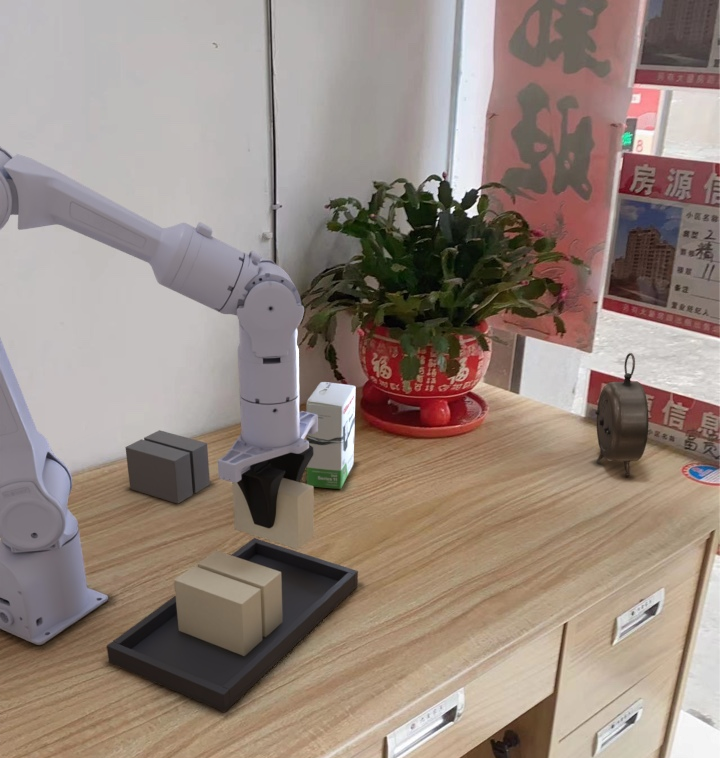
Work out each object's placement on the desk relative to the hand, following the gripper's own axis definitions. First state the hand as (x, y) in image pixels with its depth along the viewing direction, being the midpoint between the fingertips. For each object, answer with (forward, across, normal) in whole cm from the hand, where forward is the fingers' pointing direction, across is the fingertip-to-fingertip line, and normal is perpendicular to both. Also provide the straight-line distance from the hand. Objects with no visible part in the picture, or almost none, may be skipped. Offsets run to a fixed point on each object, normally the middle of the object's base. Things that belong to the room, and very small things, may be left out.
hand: (273, 517), depth 91 cm
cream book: (+2, 0, 0) cm, 2 cm away
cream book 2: (+8, -7, -1) cm, 11 cm away
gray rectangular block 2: (+8, +14, +25) cm, 30 cm away
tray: (+8, -7, -1) cm, 11 cm away
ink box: (+9, +27, +9) cm, 30 cm away
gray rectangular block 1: (+8, +11, +25) cm, 29 cm away
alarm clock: (+9, +51, -23) cm, 56 cm away
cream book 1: (+8, -11, -1) cm, 13 cm away
